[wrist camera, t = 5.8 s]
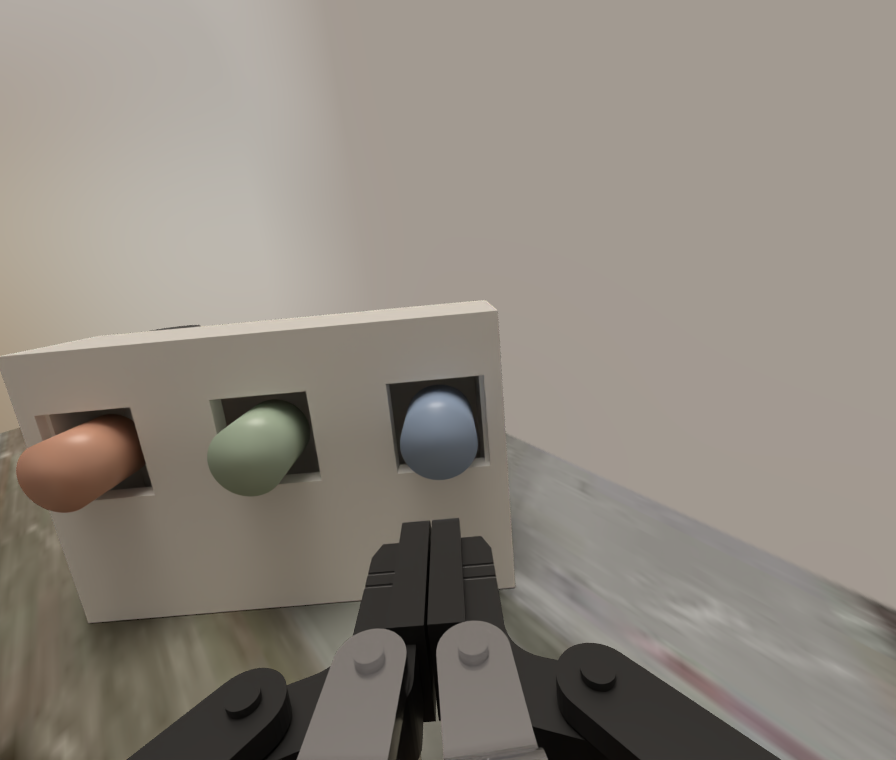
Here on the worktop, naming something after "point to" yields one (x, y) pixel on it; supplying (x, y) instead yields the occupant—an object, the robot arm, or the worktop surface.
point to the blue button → (439, 433)
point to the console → (305, 484)
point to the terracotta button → (80, 463)
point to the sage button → (258, 448)
